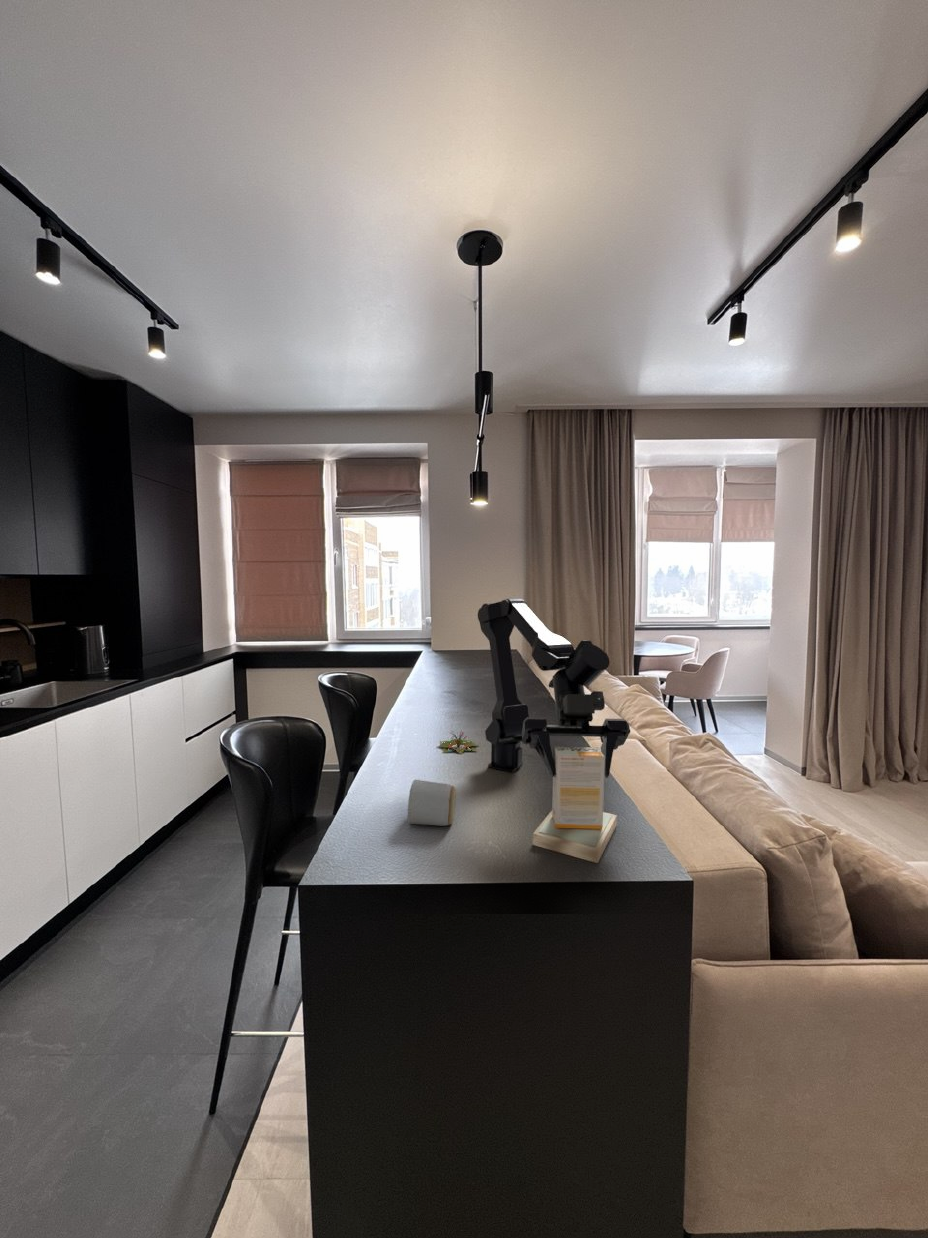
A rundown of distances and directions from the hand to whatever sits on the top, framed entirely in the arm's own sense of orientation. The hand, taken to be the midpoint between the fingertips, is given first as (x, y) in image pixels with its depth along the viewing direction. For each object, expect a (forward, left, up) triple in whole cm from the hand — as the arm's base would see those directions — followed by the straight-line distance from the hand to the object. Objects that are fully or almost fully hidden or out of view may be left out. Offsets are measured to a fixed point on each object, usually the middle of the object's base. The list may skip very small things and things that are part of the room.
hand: (580, 776), depth 88 cm
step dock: (-1, +1, -11) cm, 11 cm away
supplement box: (-1, +1, -9) cm, 9 cm away
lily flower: (-41, +31, -12) cm, 52 cm away
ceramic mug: (-26, -7, -12) cm, 29 cm away
